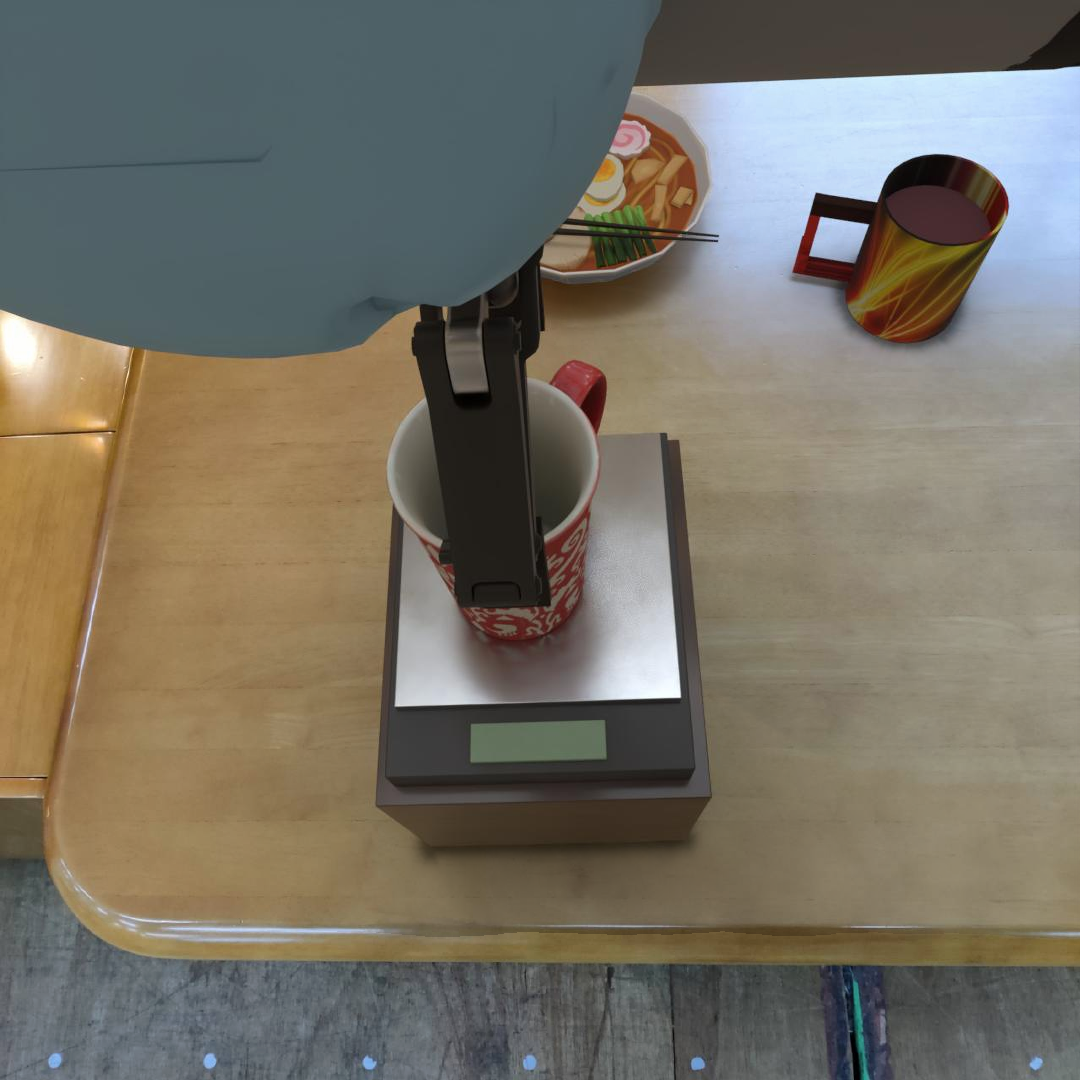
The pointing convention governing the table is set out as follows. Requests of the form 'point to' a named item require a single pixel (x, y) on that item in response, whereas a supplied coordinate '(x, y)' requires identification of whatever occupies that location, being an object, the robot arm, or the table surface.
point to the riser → (559, 805)
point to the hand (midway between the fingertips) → (516, 453)
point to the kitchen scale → (553, 656)
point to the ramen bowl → (634, 199)
